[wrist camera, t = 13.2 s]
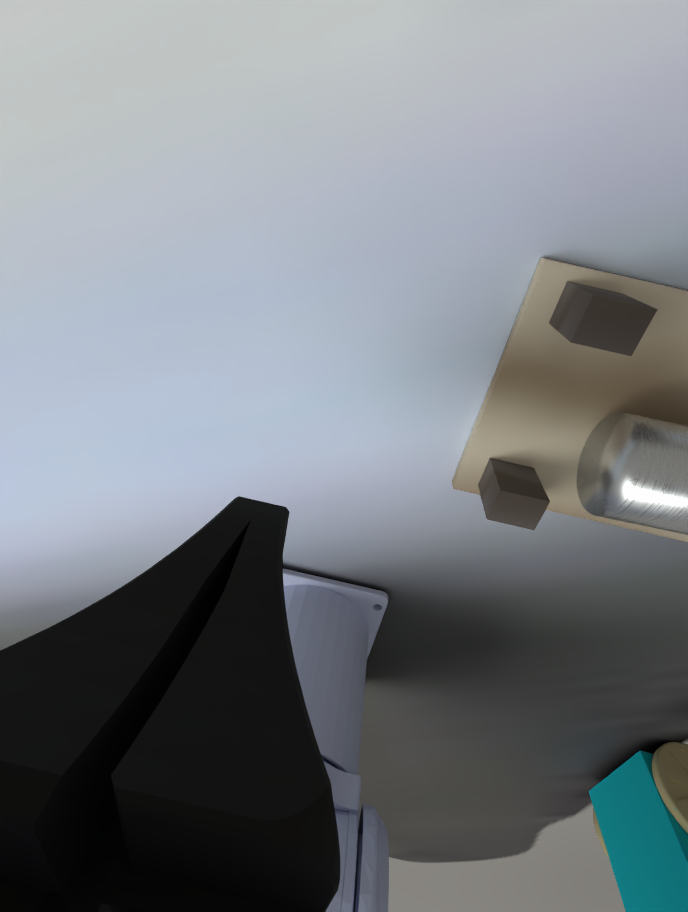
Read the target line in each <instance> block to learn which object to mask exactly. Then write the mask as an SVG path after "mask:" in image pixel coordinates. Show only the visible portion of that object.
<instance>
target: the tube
mask: <svg viewBox="0 0 688 912" xmlns="http://www.w3.org/2000/svg"><path fill="white" fill-rule="evenodd" d="M577 491H578V496H579V499H580V502H581V504H582V506H583V507H584V509H585V510H586V511H587V512H588V513H590V514H592V515H595V516H599V517H604V518H609V519H614V520H618V521H623V522H628V523H633V524H638V525H643V526H647V527H652V528H657V529H662V530H667V531H671V532H676V533H681V534H686V535H688V426H687V425H682V424H677V423H672V422H667V421H662V420H657V419H652V418H647V417H642V416H637V415H632V414H627V413H622V412H617V413H613V414H610V415H608V416H607V417H605V418H604V419H602V420H601V421H600V422H599V423H598V424H597V425H596V426H595V428H594V429H593V430H592V432H591V433H590V435H589V437H588V438H587V440H586V442H585V444H584V447H583V449H582V452H581V455H580V459H579V463H578V469H577Z"/></svg>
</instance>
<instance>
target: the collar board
mask: <svg viewBox="0 0 688 912" xmlns="http://www.w3.org/2000/svg"><path fill="white" fill-rule="evenodd" d="M617 412H622V413H627V414H632V415H637V416H642V417H647V418H652V419H657V420H662V421H667V422H672V423H677V424H682V425H687V426H688V291H687V290H682V289H678V288H674V287H669V286H665V285H660V284H656V283H652V282H647V281H643V280H638V279H634V278H630V277H625V276H621V275H617V274H612V273H608V272H603V271H599V270H595V269H590V268H586V267H581V266H577V265H573V264H568V263H564V262H559V261H555V260H551V259H546V258H542V257H541V258H540V261H539V263H538V266H537V268H536V271H535V273H534V276H533V278H532V281H531V284H530V286H529V289H528V291H527V294H526V296H525V299H524V301H523V304H522V306H521V309H520V311H519V314H518V316H517V319H516V321H515V324H514V326H513V329H512V331H511V334H510V336H509V339H508V341H507V344H506V347H505V349H504V352H503V354H502V357H501V359H500V362H499V364H498V367H497V369H496V372H495V374H494V377H493V379H492V382H491V384H490V387H489V389H488V392H487V394H486V397H485V399H484V402H483V404H482V407H481V410H480V412H479V415H478V417H477V420H476V422H475V425H474V427H473V430H472V432H471V435H470V437H469V440H468V442H467V445H466V447H465V450H464V452H463V455H462V457H461V460H460V462H459V465H458V467H457V470H456V473H455V475H454V478H453V480H452V485H453V489H457V490H461V491H466V492H470V493H475V494H479V495H481V499H482V503H483V507H484V511H485V514H486V518H487V519H488V520H492V521H497V522H501V523H505V524H510V525H514V526H519V527H523V528H527V529H532V530H535V528H536V526H537V524H538V522H539V521H540V519H541V517H542V515H543V514H544V512H545V510H549V511H554V512H558V513H562V514H567V515H571V516H576V517H580V518H584V519H589V520H593V521H598V522H602V523H606V524H611V525H615V526H620V527H624V528H628V529H633V530H637V531H641V532H646V533H650V534H655V535H659V536H663V537H668V538H672V539H677V540H681V541H685V542H688V535H686V534H681V533H676V532H671V531H667V530H662V529H657V528H652V527H647V526H643V525H638V524H633V523H628V522H623V521H618V520H614V519H609V518H604V517H599V516H595V515H592V514H590V513H588V512H587V511H586V510H585V509H584V507H583V506H582V504H581V502H580V499H579V496H578V491H577V469H578V463H579V459H580V455H581V452H582V449H583V447H584V444H585V442H586V440H587V438H588V437H589V435H590V433H591V432H592V430H593V429H594V428H595V426H596V425H597V424H598V423H599V422H600V421H601V420H602V419H604V418H605V417H607V416H608V415H610V414H613V413H617Z"/></svg>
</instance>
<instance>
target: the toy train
mask: <svg viewBox="0 0 688 912" xmlns="http://www.w3.org/2000/svg"><path fill="white" fill-rule="evenodd" d="M589 794H590V797H591V801H592V804H593V819H594V825H595V829H596V833H597V836H598V839H599V841H600V843H601V846H602V848H603V850H604V852H605V854H606V855H607V857H608V858H609V860H610V862H611V865H612V868H613V872H614V875H615V878H616V881H617V885H618V888H619V891H620V894H621V897H622V901H623V904H624V907H625V910H626V912H688V744H684V743H683V744H682V743H678V742H668V743H665V744H663V745H662V746H660V747H659V748H658V749H657V750H656V751H655V753H654V754H652V753H648V752H644V751H639V752H637V753H636V754H635V755H634V756H632V757H631V758H630V759H629V760H627V761H626V762H625V763H624V764H622V765H621V766H620V767H618V768H617V769H616V770H615V771H613V772H612V773H611V774H610V775H608V776H607V777H606V778H605V779H603V780H602V781H601V782H600V783H598V784H597V785H596V786H595V787H593V788H592V789H591V790H590V791H589Z"/></svg>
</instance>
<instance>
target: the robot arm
mask: <svg viewBox="0 0 688 912" xmlns="http://www.w3.org/2000/svg"><path fill="white" fill-rule="evenodd" d="M288 517H289V511H288V509H287V508H286V507H283V506H278V505H274V504H270V503H265V502H261V501H256V500H252V499H248V498H243V497H237V498H235V499H234V500H233V501H232V502H231V503H230V504H228V505H227V506H226V507H225V508H224V509H223V510H222V511H221V512H220V513H219V514H218V515H216V516H215V517H214V518H213V519H212V520H211V521H210V522H209V523H207V524H206V525H205V526H204V527H203V528H202V529H200V530H199V531H198V532H197V533H195V534H194V535H193V536H192V537H191V538H189V539H188V540H187V541H186V542H184V543H183V544H182V545H181V546H179V547H178V548H177V549H175V550H174V551H173V552H171V553H170V554H169V555H167V556H166V557H165V558H163V559H162V560H160V561H159V562H158V563H156V564H155V565H154V566H152V567H151V568H149V569H148V570H147V571H145V572H144V573H142V574H141V575H139V576H138V577H136V578H135V579H133V580H132V581H130V582H129V583H127V584H126V585H124V586H122V587H121V588H119V589H117V590H116V591H114V592H113V593H111V594H109V595H108V596H106V597H104V598H103V599H101V600H99V601H97V602H95V603H94V604H92V605H90V606H88V607H87V608H85V609H83V610H81V611H80V612H78V613H76V614H74V615H72V616H70V617H69V618H67V619H65V620H63V621H61V622H59V623H57V624H55V625H53V626H51V627H49V628H47V629H45V630H43V631H41V632H39V633H37V634H34V635H32V636H30V637H28V638H26V639H24V640H22V641H20V642H18V643H16V644H13V645H11V646H9V647H7V648H5V649H3V650H1V651H0V912H388V891H389V853H388V835H387V829H386V826H385V825H384V823H383V821H382V820H381V818H380V817H379V816H378V813H377V810H376V808H375V807H374V806H372V805H366V804H362V808H361V813H360V820H359V827H358V816H359V803H360V790H361V777H360V776H359V775H358V766H359V754H360V741H361V728H362V716H363V703H364V690H365V678H366V665H367V659H368V656H369V653H370V651H371V648H372V645H373V642H374V640H375V637H376V634H377V632H378V629H379V626H380V623H381V621H382V618H383V615H384V613H385V610H386V607H387V604H388V595H387V594H386V593H385V592H383V591H380V590H375V589H371V588H366V587H362V586H358V585H353V584H349V583H344V582H340V581H336V580H331V579H327V578H323V577H318V576H314V575H309V574H305V573H301V572H296V571H292V570H287V569H283V548H284V542H285V536H286V529H287V523H288ZM376 604H379V605H376Z"/></svg>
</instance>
